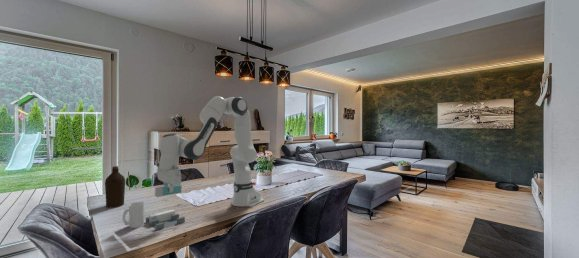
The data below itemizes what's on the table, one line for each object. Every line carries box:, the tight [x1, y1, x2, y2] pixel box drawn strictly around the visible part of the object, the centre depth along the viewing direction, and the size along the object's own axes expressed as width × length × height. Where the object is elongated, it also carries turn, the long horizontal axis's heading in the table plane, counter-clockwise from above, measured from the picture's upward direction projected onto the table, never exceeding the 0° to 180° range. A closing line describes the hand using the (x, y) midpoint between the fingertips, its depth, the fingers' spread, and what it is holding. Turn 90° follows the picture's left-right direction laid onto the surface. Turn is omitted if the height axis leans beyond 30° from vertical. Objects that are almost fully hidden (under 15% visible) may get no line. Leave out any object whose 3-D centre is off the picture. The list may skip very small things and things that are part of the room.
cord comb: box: [145, 213, 186, 231], centre depth 129 cm, size 14×14×4 cm
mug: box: [122, 201, 145, 229], centre depth 123 cm, size 10×7×12 cm, turn 150°
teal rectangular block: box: [154, 184, 182, 198], centre depth 127 cm, size 12×3×4 cm, turn 140°
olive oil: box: [104, 165, 126, 209], centre depth 156 cm, size 11×11×25 cm
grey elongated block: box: [148, 209, 176, 223], centre depth 131 cm, size 12×3×4 cm, turn 139°
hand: (168, 191), depth 127 cm, fingers closed on teal rectangular block, 3 cm apart
